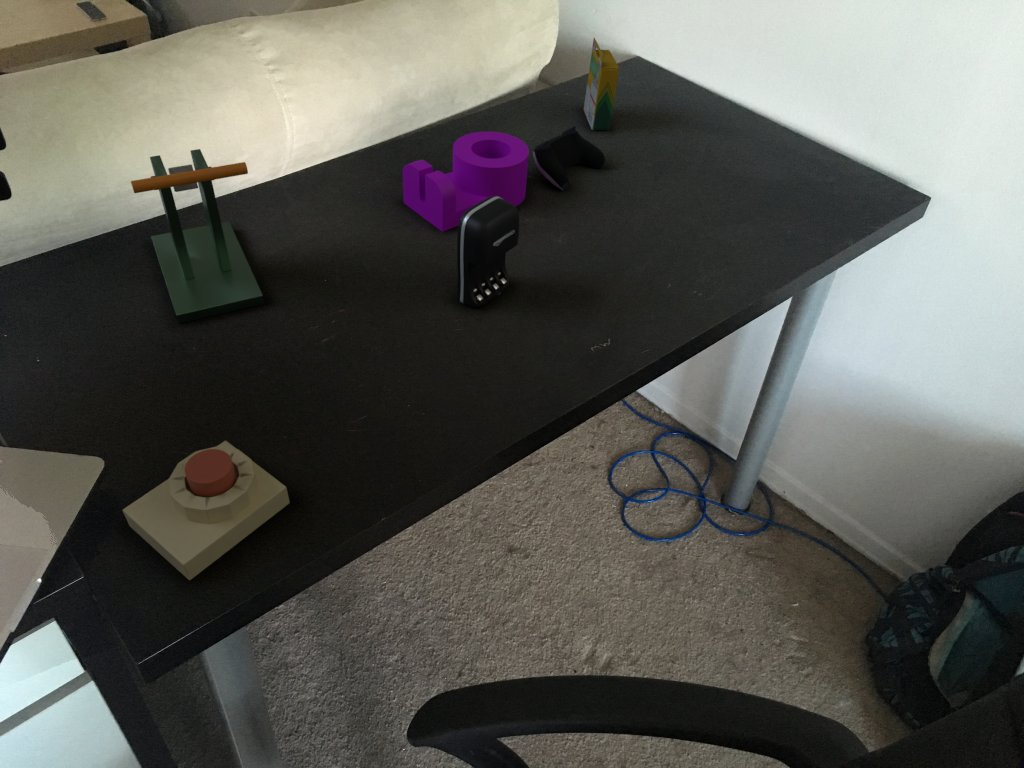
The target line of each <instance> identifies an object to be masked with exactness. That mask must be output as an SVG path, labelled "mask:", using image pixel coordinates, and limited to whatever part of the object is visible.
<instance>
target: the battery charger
mask: <svg viewBox="0 0 1024 768" xmlns="http://www.w3.org/2000/svg"><path fill="white" fill-rule="evenodd" d="M519 237H520V212H519V209H518V208H517V206H516V207H515V206H514V205H513V204H511V203H509V202H507V201H505V200H503V199H502V198H500V197H498V196H491V197H488V198H486V199H484V200H483V201H481V202H479V203H477V204H476V205H474V206H473V207H471V208H469V209H468V210H467V211H465V212H464V213H463V215H462V216H461V218H460V221H459V225H458V226H457V240H456V245H457V246H456V249H457V250H456V255H457V257H456V258H457V259H456V261H457V264H456V265H457V292H456V293H457V296H456V299H457V300H458V302H460V303H461V304H464V305H467V306H469V307H471V308H474V309H475V308H478V309H479V308H482V307H484V306H486V305H487V304H489V303H490V302H491V301H494V299H496V298H497V297H499V296H500V295H502V294H503V293H504V292H505V291H507V290H508V289H509V288H510V278H509V275H508V271H507V267H506V255H507V253H508V252H509V251H511V250H512V249H515V247H517V245H518V244H519Z"/></svg>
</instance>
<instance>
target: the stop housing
mask: <svg viewBox="0 0 1024 768" xmlns="http://www.w3.org/2000/svg"><path fill="white" fill-rule="evenodd" d="M208 449H218V450H222V451H224V452H226V453H227V454H229V456H230V457H231V459H232V463H233V466H234V470H235V473H236V479H235V482H234V484H233V485H232V487H231V488H230V489H229V490H227V491H226V492H224V493H222V494H220V495H217V496H213V497H202V496H199V495H197V494H195V493H194V492H193V491H192V490H191V489H190V486H189V483H188V480H187V477H186V475H185V466H186V463H187V462H188V460H189V459H190V458H191V457H192V456H194V455H195V454H197V453H199V452H201V451H204V450H208ZM290 502H291V501H290V497H289V493H288V488H287V486H286V485H284V484H283V483H282V482H281V481H279V480H278V479H277V478H275V477H274V476H273V475H271V473H269V472H267V470H265V469H264V468H262V467H261V466H260V465H259V464H258V463H256V462H255V461H253V460H252V459H251V458H250V457H249V456H248V455H246V454H245V453H244V452H243V451H242V450H240V449H238V448H236V447H235V446H234V445H232V444H231V443H230V442H229V441H227V440H224V441H222V442H221V443H220V444H218V445H216V446H213V447H208V448H204V449H200V450H196V451H194V452H192V453H191V454H189V455H188V456H187V457H185V458H184V459H182V460H181V461H179V462H178V463H177V464H176V466H175V468H174V469H173V471H172V473H171V474H170V476H169V478H168V479H166V480H164V481H163V482H162V483H160V484H159V485H157V486H156V487H154V488H153V489H151V490H150V491H148V492H147V493H145V494H144V495H143V496H141V497H139V498H138V499H136V500H135V501H133V502H132V503H130V504H129V505H127V506H126V507H125V508H123V509H122V513H123V515H124V518H125V519H126V521H127V524H128V526H129V527H130V528H131V529H132V530H133V531H134V532H135V533H136V534H137V535H138V536H140V537H141V538H142V539H143V540H144V541H145V542H146V543H147V544H148V545H150V546H151V547H152V548H153V549H154V550H155V551H156V552H157V553H158V554H160V556H161V557H163V558H164V559H165V560H166V561H167V562H168V563H169V564H171V565H172V567H174V568H175V569H176V570H177V571H178V572H179V573H181V575H183V576H184V577H185V578H186V579H187V580H188V581H191V580H192V579H194V578H195V577H197V576H198V575H199V574H200V573H201V572H203V571H204V570H205V569H207V568H208V567H209V566H211V565H212V564H213V563H214V562H216V561H217V560H219V559H220V558H221V557H222V556H224V555H225V554H226V553H227V552H228V551H230V550H232V549H233V548H234V547H235V546H237V545H238V544H239V543H240V542H242V541H243V540H244V539H245V538H246V537H248V536H249V535H250V534H252V533H253V532H255V531H256V530H257V529H258V528H260V527H261V526H262V525H263V524H265V523H266V522H268V520H270V519H271V518H272V517H274V516H275V515H276V514H278V513H280V511H282V510H283V509H284V508H286V506H288V505H289V504H290Z"/></svg>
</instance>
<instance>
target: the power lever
mask: <svg viewBox="0 0 1024 768" xmlns="http://www.w3.org/2000/svg"><path fill="white" fill-rule="evenodd" d="M211 167H212V166H211ZM167 170H168V174H167V175H164V176H158V177H152V178H151V177H147V178H140V179H135V180H130V184H131V187H132V191H133V193H134V194H139V193H145V192H151V191H158V190H157V189H163V188H169V187H171V188H173V191H174V192H175V193H180V192H184V191H190V190H196V189H199V185H198V182H203V181H209V180H212V181H216V180H220V179H225V178H231V177H237V176H243V175H248V174H249V171H248V167H247V163H246V162H245V161H242V162H236V163H231V164H225V165H218V166H213V167H212V168H206V169H200V170H195V169H194V166H193V164H185V165H179V166H174V167H169V168H168V169H167Z"/></svg>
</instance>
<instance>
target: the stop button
mask: <svg viewBox="0 0 1024 768" xmlns="http://www.w3.org/2000/svg"><path fill="white" fill-rule="evenodd" d="M207 449H208V448H207ZM185 475H186V477H187V480H188V483H189V486H190V489H191V490H192V491H193V492H194V493H195V494H197V495H199V496H202V497H213V496H217V495H220V494H222V493H224V492H226V491H227V490H229V489H230V488H231V487H232V485H233V484H234V482H235V479H236V473H235V470H234V466H233V463H232V459H231V457H230V456H229V454H227V453H226V452H224V451H222V450H218V449H208V450H204V451H201V452H199V453H197V454H195V455H194V456H192V457H191V458H190V459H189V460H188V462H187V463H186V466H185Z"/></svg>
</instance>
